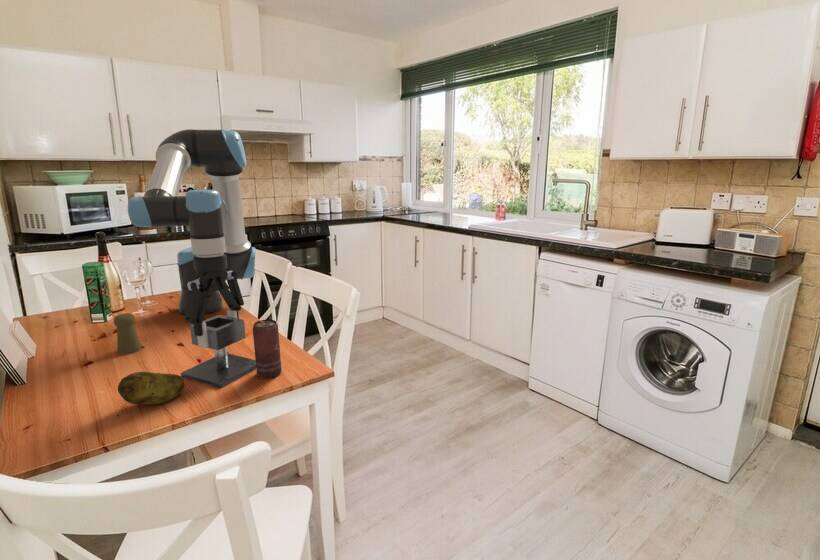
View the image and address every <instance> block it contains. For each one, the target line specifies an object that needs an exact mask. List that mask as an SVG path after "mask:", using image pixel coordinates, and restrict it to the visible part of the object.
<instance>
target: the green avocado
mask: <svg viewBox="0 0 820 560" xmlns="http://www.w3.org/2000/svg"><path fill="white" fill-rule="evenodd" d="M184 389H185V380H184V377H181V375H178V374H176V373H175V374H174V373H163V372H151V371H137V372H132V373H130V374H128V375H126V376H125V377H123V378H121V380H120V381H119V383H118V386H117V391H118V394H119V395H120V397H122V399H123V401H125V402H127V403H129V404H131V405H152V406H153V405H160V404H164V403H166V402H169V401H171V400H173V399H175V398H176V397H178V395H180V394H181V392H182V391H183V390H184Z"/></svg>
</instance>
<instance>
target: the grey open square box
mask: <svg viewBox="0 0 820 560" xmlns="http://www.w3.org/2000/svg"><path fill="white" fill-rule="evenodd" d="M203 322H206V328H207V336H208V345H209V347H208V348H207V349H211V350H214V349H215V350H220V349H222V348H224V347H227V348H228V347H229V346H231V345H233V344H235V343H238V342H240V341H241V340H245V339H246V328H245V326H246V325H245V320H244V319H242V318H239V319H237V318H232V317H227V315H221V314H217V315H215V316H212V317H209V318H207V319H203ZM189 329H190V336H191V344H192V345H195V346H198V338H197V336H196V335H195V333H194V325H193V324H190V325H189Z"/></svg>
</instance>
